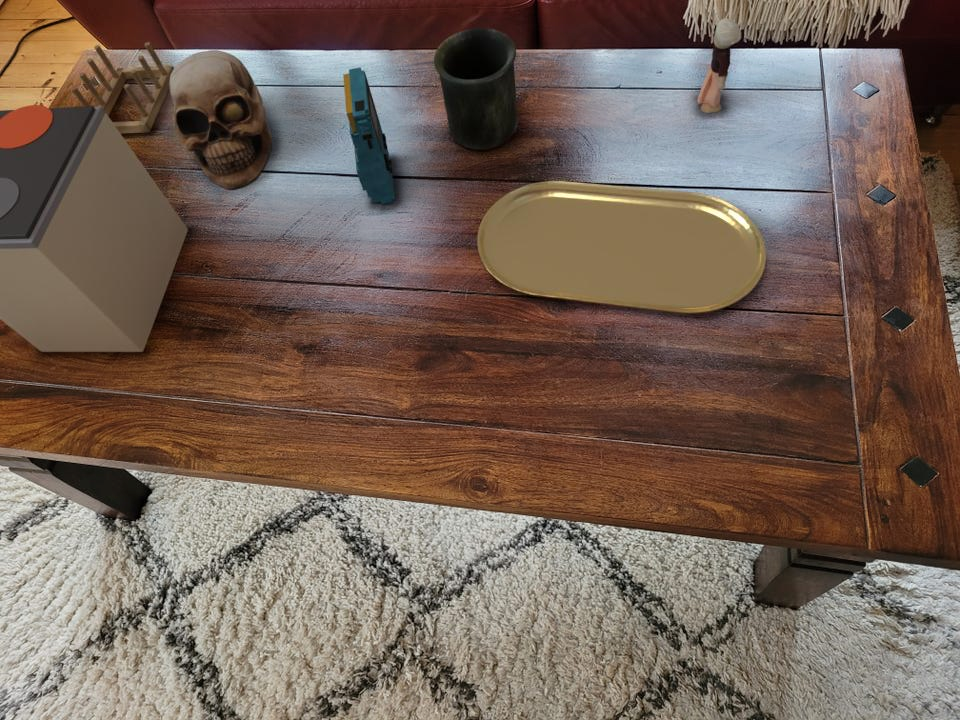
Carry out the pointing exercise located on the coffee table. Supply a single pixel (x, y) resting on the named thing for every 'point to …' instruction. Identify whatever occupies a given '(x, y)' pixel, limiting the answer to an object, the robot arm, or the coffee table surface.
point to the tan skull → (220, 117)
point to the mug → (479, 87)
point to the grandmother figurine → (718, 65)
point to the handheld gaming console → (368, 139)
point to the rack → (130, 89)
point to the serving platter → (622, 246)
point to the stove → (80, 233)
